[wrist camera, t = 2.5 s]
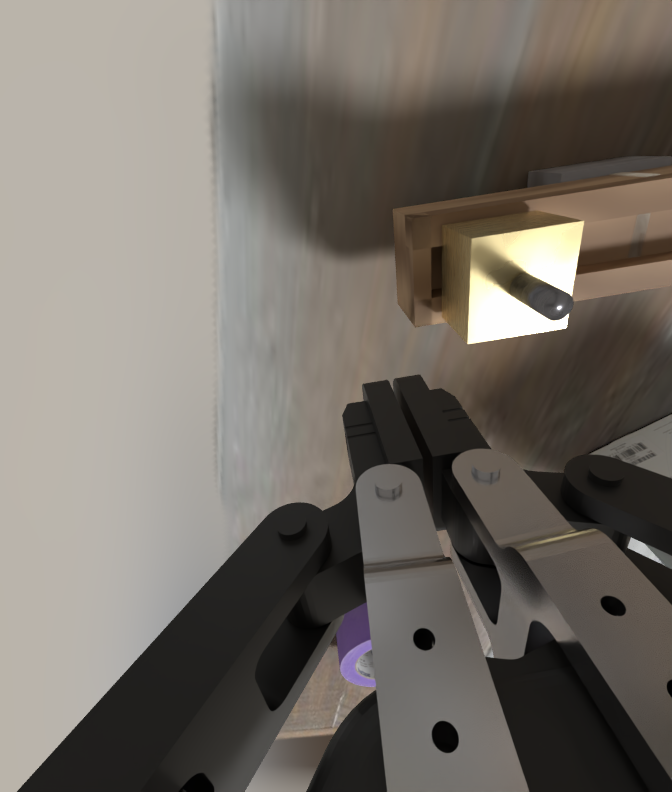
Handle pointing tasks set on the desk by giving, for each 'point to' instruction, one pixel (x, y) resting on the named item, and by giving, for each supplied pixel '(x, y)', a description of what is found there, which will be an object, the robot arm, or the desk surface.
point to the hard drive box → (646, 456)
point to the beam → (566, 196)
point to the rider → (509, 274)
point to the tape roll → (356, 647)
